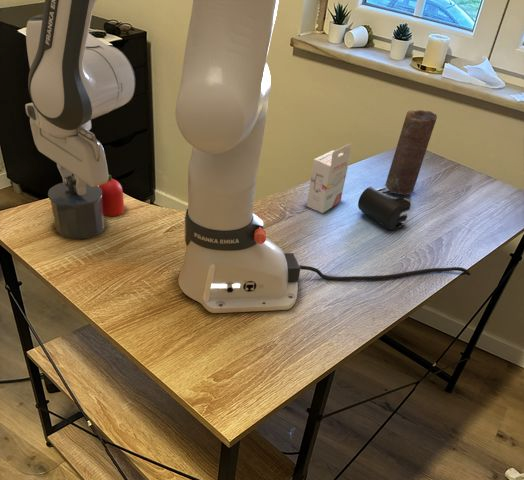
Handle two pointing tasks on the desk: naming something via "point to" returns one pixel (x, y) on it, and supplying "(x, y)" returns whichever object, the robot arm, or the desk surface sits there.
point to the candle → (410, 151)
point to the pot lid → (74, 195)
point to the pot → (79, 220)
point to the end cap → (383, 207)
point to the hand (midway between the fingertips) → (75, 189)
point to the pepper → (112, 197)
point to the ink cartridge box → (328, 179)
